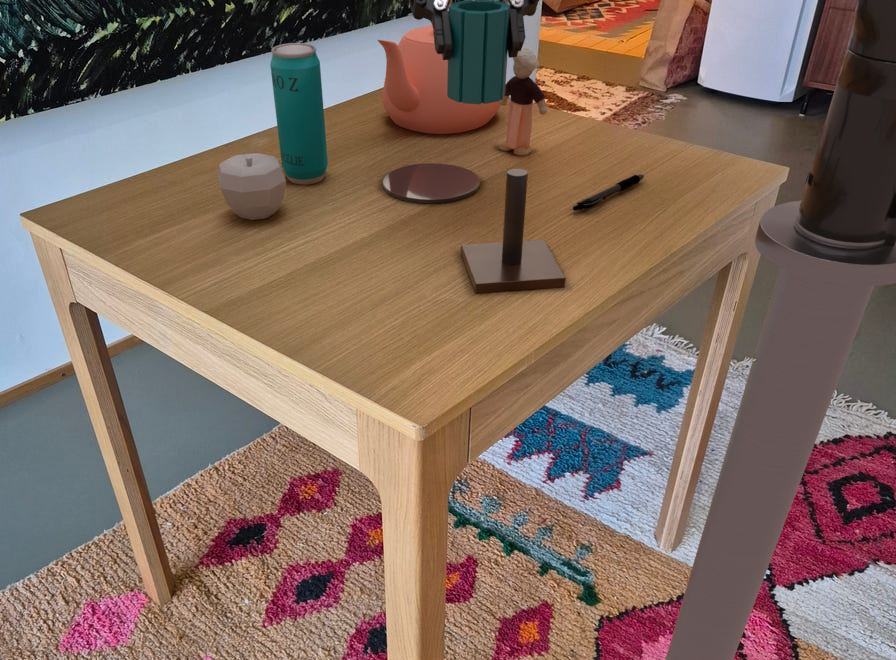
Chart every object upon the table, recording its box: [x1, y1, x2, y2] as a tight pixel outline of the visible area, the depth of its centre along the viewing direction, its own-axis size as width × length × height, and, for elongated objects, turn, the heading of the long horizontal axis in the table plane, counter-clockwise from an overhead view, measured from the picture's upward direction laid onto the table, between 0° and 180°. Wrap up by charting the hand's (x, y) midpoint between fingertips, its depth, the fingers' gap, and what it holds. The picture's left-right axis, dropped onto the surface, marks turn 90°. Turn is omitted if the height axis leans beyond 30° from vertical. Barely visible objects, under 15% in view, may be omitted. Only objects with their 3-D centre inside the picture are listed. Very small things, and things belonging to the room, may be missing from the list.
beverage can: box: [269, 42, 329, 185], centre depth 101 cm, size 6×6×15 cm
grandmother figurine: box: [498, 46, 548, 156], centre depth 108 cm, size 8×4×13 cm, turn 55°
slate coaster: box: [382, 162, 481, 204], centre depth 103 cm, size 12×12×1 cm
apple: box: [217, 152, 287, 221], centre depth 95 cm, size 8×8×7 cm
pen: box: [572, 173, 645, 212], centre depth 99 cm, size 14×2×1 cm, turn 135°
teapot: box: [377, 22, 502, 135], centre depth 118 cm, size 25×17×13 cm
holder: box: [460, 168, 567, 294], centre depth 82 cm, size 9×9×10 cm
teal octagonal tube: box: [447, 0, 510, 104], centre depth 81 cm, size 6×6×8 cm
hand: (481, 53), depth 80 cm, fingers closed on teal octagonal tube, 6 cm apart
